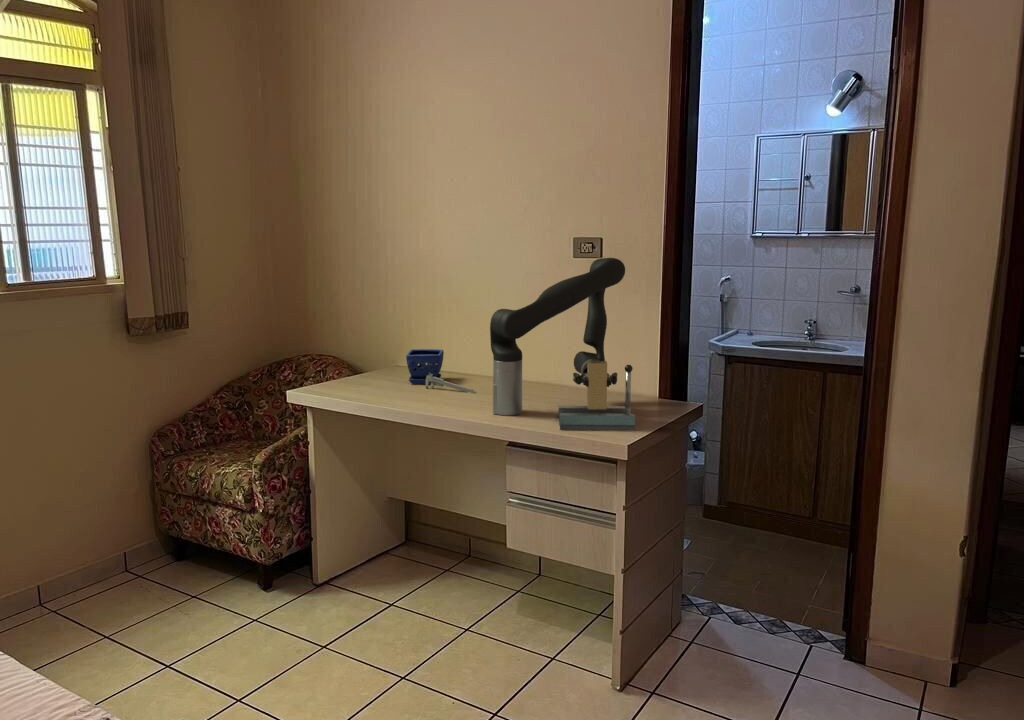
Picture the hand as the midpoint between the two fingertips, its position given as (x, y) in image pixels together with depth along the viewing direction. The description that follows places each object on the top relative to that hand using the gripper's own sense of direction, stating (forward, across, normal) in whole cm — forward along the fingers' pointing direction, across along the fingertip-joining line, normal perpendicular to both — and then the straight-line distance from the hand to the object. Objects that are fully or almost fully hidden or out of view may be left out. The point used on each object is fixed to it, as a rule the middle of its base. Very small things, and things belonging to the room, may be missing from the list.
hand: (597, 383), depth 234 cm
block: (-3, 0, +8) cm, 8 cm away
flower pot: (-68, -60, +14) cm, 92 cm away
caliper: (-52, -49, +14) cm, 73 cm away
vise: (-3, 0, +13) cm, 14 cm away
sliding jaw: (-8, 0, +12) cm, 15 cm away
